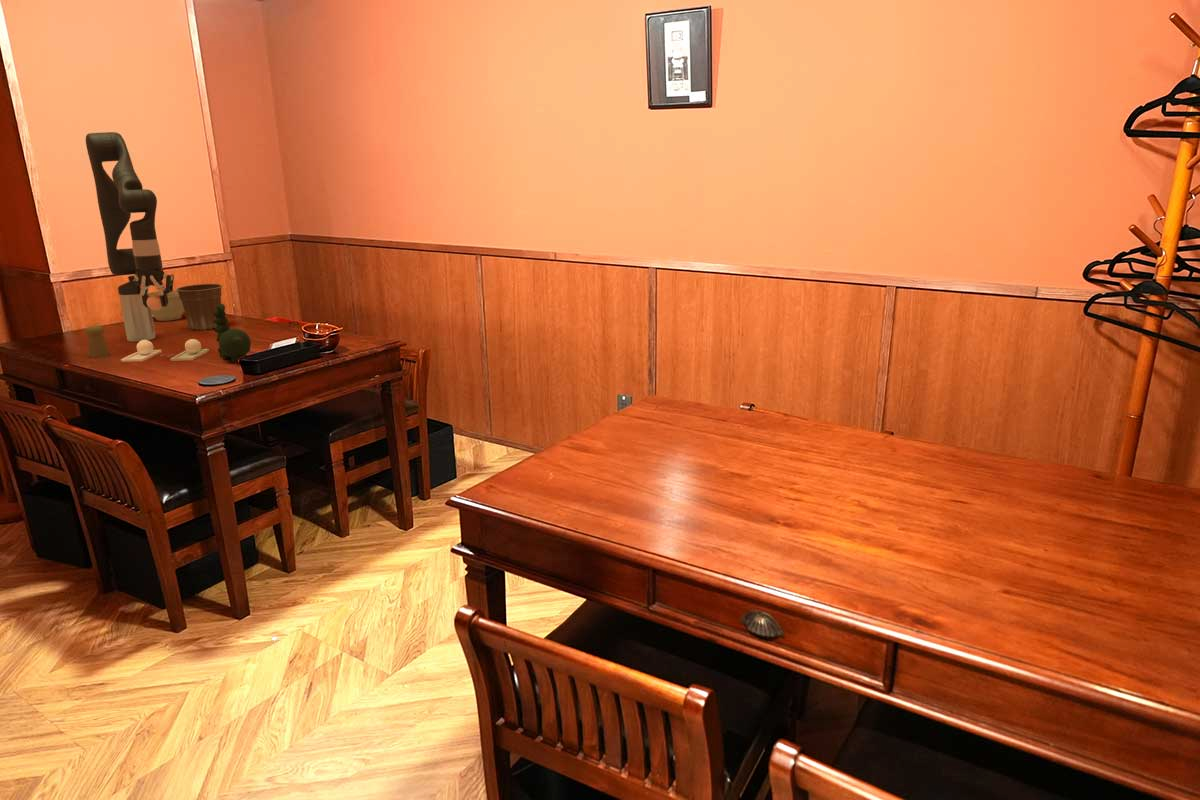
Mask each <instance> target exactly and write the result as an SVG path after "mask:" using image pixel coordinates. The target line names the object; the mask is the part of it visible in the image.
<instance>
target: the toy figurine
mask: <svg viewBox="0 0 1200 800" xmlns="http://www.w3.org/2000/svg"><path fill="white" fill-rule="evenodd" d="M216 309H217V310H216V311H215V312H214V313H213V315H214V316H215V317H216V318H215V320H214V321H213V322H214V323H215V324H216V325H217V327H216V328H215V329H214V330H213V331H214V332H215V333H217V334H216V335H217V336H216V342H218V348H217V352H218V353H219V357H220V358H221V359H223V360H226V361H227V360H229V359H231V362H232V363H236V364H240V363H239V362H238V359H239V358H240V357H243V356H245V357H246V355H247V354H248V353H249V352H251V347H252V342H251V341H252V340H251V337H250V336H249V334H247V332H246V331H244V330H242V329H239V328H231V327H230V326H229V324H228V318H227V316H226V314H227V313H226V306H225V304H224V303H221V304H218V305H217V307H216Z"/></svg>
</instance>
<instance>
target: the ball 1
mask: <svg viewBox="0 0 1200 800" xmlns="http://www.w3.org/2000/svg"><path fill="white" fill-rule="evenodd" d="M137 342H138V343H137V344H136V351H137V352H139V353H141V354H144V355H147V354H150V353H151V352H152V351H153V350H154V345H153V343H152V342H151V340H141V341H137Z"/></svg>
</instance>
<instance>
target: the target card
mask: <svg viewBox="0 0 1200 800" xmlns="http://www.w3.org/2000/svg"><path fill="white" fill-rule="evenodd" d="M174 356H175V354H174V353H171V354H169V355H167V356H166V358H172V357H174ZM161 357H164V355H163V354H160V355H159V358H161Z"/></svg>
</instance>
